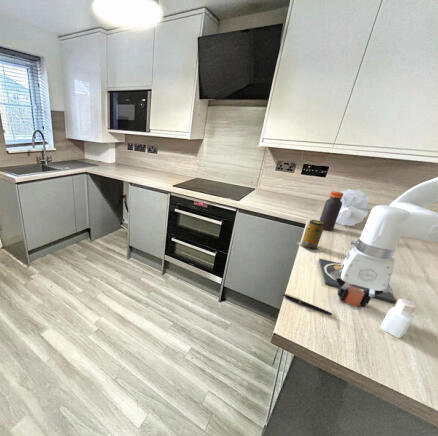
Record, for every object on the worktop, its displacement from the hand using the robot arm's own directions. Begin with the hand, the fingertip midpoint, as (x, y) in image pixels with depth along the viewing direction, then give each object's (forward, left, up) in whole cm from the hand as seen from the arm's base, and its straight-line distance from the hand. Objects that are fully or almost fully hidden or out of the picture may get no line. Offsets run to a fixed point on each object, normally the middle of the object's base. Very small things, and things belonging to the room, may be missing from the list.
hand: (351, 300), depth 73 cm
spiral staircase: (-12, -86, -1) cm, 87 cm away
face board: (-3, -15, 0) cm, 15 cm away
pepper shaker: (-7, +9, -1) cm, 11 cm away
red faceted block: (0, 0, 0) cm, 0 cm away
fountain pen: (+12, +10, -1) cm, 16 cm away
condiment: (+8, -36, -1) cm, 37 cm away
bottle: (-1, -66, -1) cm, 66 cm away
